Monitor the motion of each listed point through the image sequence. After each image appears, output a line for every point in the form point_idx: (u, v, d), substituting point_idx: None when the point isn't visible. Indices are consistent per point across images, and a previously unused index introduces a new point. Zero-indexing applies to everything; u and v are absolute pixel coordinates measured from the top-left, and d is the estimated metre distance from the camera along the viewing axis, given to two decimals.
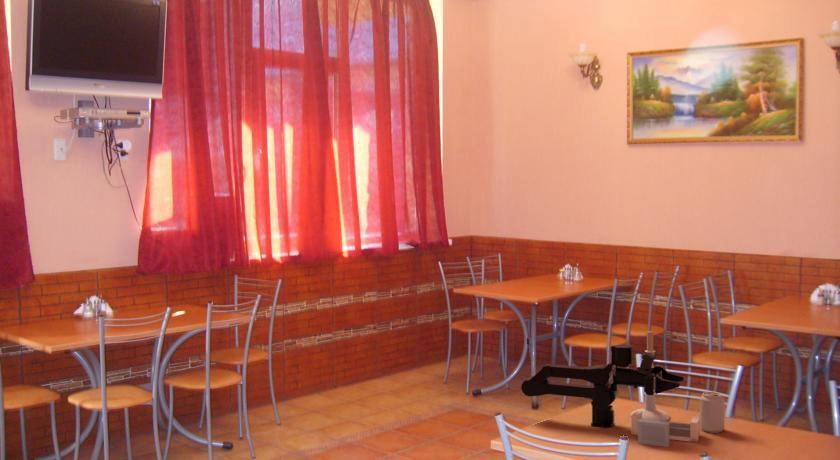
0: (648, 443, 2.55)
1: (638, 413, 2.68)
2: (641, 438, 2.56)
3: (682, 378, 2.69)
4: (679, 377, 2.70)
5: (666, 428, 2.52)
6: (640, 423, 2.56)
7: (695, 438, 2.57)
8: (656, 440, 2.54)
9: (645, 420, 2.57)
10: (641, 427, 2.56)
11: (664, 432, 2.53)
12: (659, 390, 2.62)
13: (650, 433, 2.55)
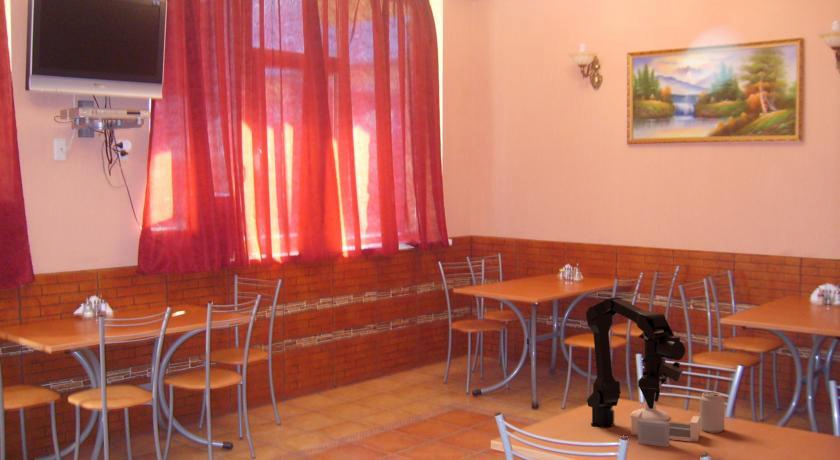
0: (648, 443, 2.55)
1: (638, 413, 2.68)
2: (641, 438, 2.56)
3: (656, 400, 2.59)
4: (657, 397, 2.59)
5: (666, 428, 2.52)
6: (640, 423, 2.56)
7: (695, 438, 2.57)
8: (656, 440, 2.54)
9: (645, 420, 2.57)
10: (641, 427, 2.56)
11: (664, 432, 2.53)
12: (643, 390, 2.50)
13: (650, 433, 2.55)
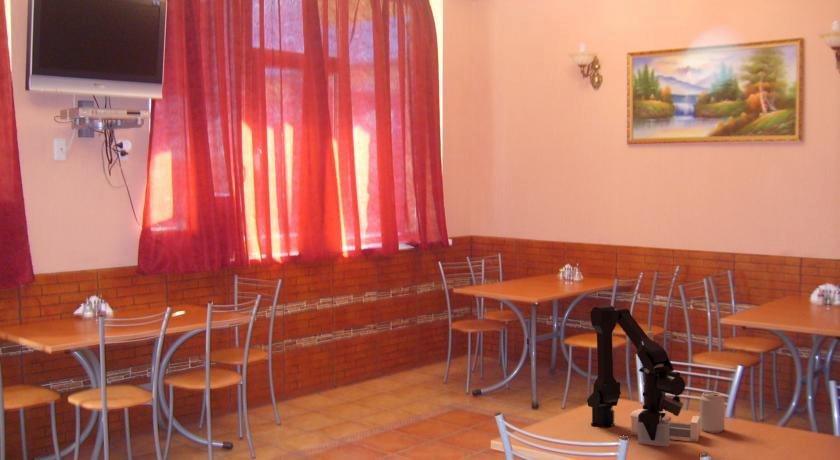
0: (648, 443, 2.55)
1: (638, 413, 2.68)
2: (641, 438, 2.56)
3: None
4: None
5: (666, 428, 2.52)
6: (640, 423, 2.56)
7: (695, 438, 2.57)
8: (656, 439, 2.54)
9: None
10: (641, 427, 2.56)
11: (664, 432, 2.53)
12: None
13: None
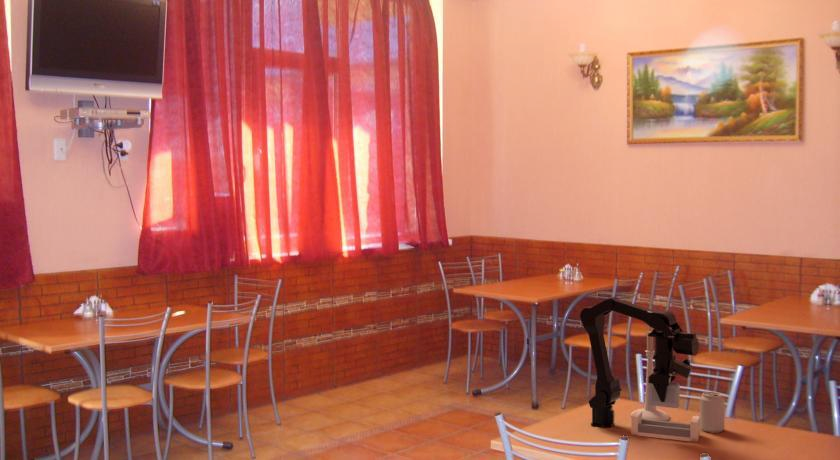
0: (658, 404, 2.62)
1: (638, 413, 2.68)
2: (652, 400, 2.63)
3: None
4: None
5: (676, 390, 2.59)
6: (650, 385, 2.63)
7: (695, 438, 2.57)
8: (666, 401, 2.61)
9: None
10: (652, 389, 2.62)
11: (674, 394, 2.60)
12: (655, 384, 2.60)
13: None
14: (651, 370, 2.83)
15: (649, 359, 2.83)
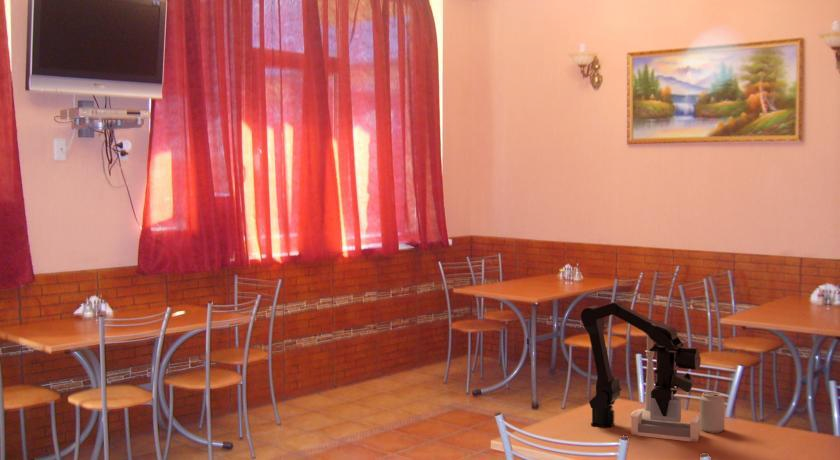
0: (660, 419, 2.63)
1: (638, 413, 2.68)
2: (653, 414, 2.64)
3: None
4: None
5: (678, 404, 2.61)
6: (652, 399, 2.64)
7: (695, 438, 2.57)
8: (668, 415, 2.62)
9: None
10: (654, 403, 2.64)
11: (676, 408, 2.61)
12: (657, 398, 2.61)
13: None
14: (651, 370, 2.83)
15: (649, 359, 2.83)
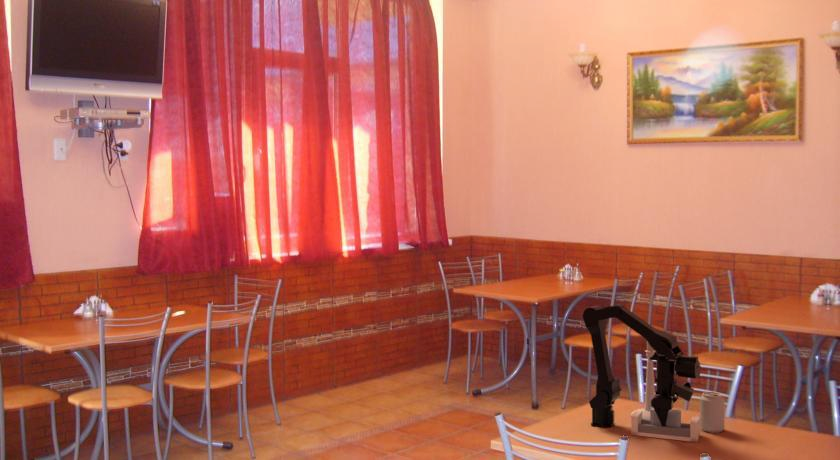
0: None
1: (638, 413, 2.68)
2: None
3: None
4: None
5: (678, 416, 2.61)
6: (652, 412, 2.64)
7: (695, 438, 2.57)
8: None
9: None
10: (654, 416, 2.64)
11: (676, 420, 2.61)
12: (656, 408, 2.60)
13: None
14: (651, 370, 2.83)
15: (649, 359, 2.83)
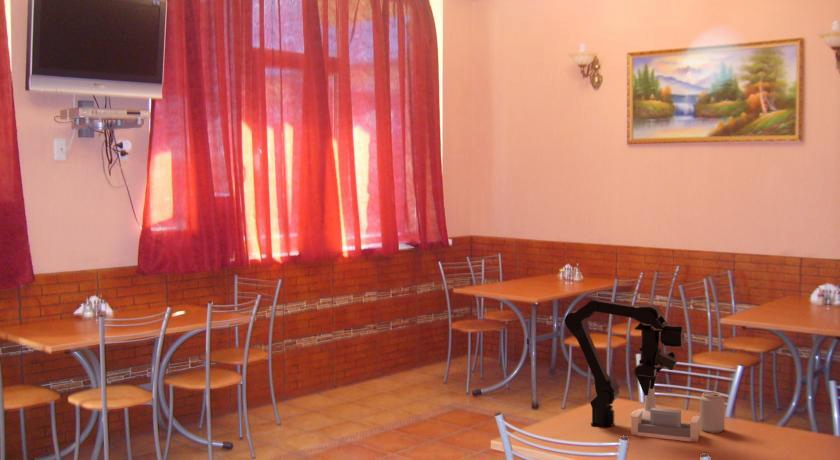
0: None
1: (638, 413, 2.68)
2: None
3: (651, 387, 2.73)
4: (652, 385, 2.73)
5: (678, 416, 2.61)
6: (652, 412, 2.64)
7: (695, 438, 2.57)
8: None
9: (657, 409, 2.65)
10: (654, 416, 2.64)
11: (676, 420, 2.61)
12: (639, 377, 2.64)
13: (662, 421, 2.63)
14: None
15: None
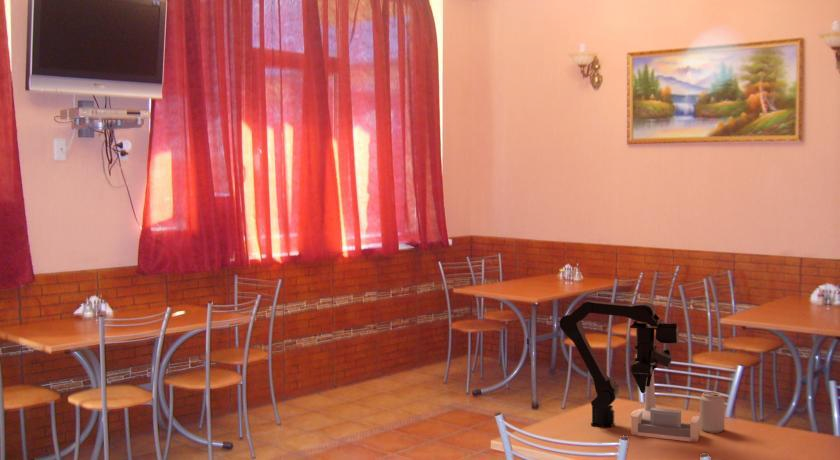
0: None
1: (638, 413, 2.68)
2: None
3: (648, 385, 2.74)
4: (648, 382, 2.74)
5: (678, 416, 2.61)
6: (652, 412, 2.64)
7: (695, 438, 2.57)
8: None
9: (657, 409, 2.65)
10: (654, 416, 2.64)
11: (676, 420, 2.61)
12: (635, 375, 2.65)
13: (662, 421, 2.63)
14: None
15: None
